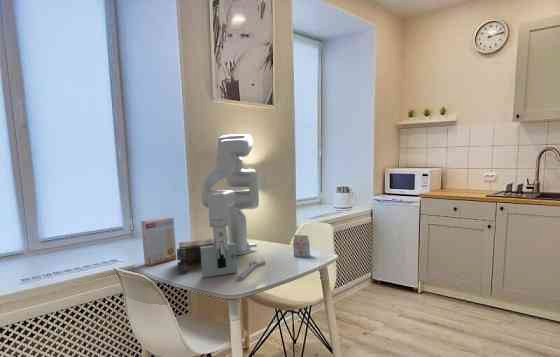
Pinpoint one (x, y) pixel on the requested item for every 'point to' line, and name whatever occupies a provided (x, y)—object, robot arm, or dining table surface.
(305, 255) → the small printed carton
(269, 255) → the dining table surface
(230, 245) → the grey flat block
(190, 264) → the cabinet
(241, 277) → the adjustable wrench
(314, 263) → the dining table surface
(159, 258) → the cracker box
